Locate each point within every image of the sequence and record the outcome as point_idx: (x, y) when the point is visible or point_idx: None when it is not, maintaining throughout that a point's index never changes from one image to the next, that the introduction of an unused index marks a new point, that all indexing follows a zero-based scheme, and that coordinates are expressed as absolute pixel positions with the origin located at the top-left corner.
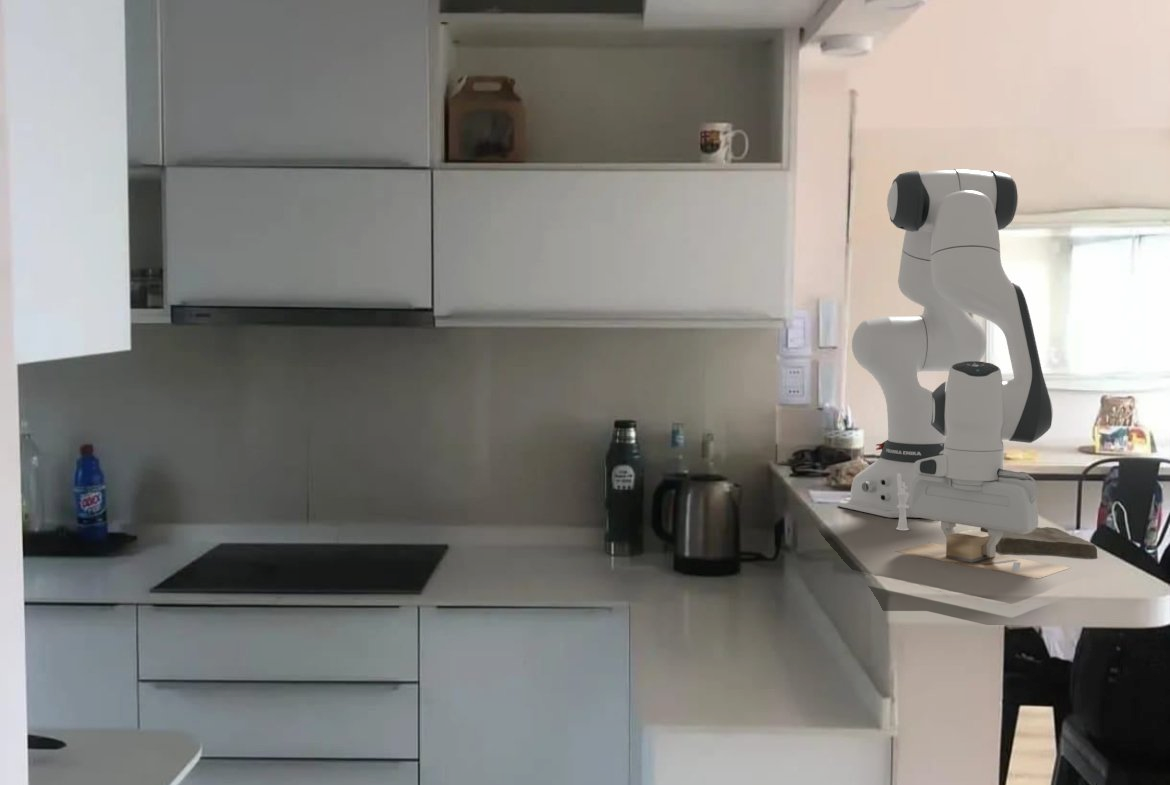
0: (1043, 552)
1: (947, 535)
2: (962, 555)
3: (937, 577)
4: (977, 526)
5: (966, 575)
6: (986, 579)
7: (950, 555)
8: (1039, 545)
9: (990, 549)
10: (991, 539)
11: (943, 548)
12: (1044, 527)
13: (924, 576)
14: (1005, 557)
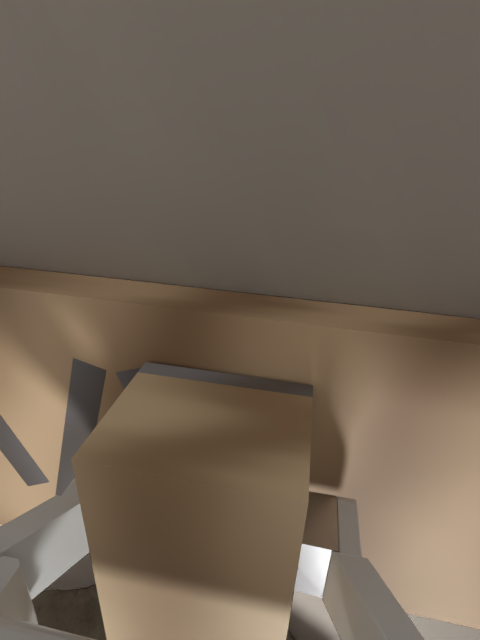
0: (78, 633)
1: (362, 582)
2: (195, 389)
3: (245, 101)
4: (41, 628)
5: (158, 274)
6: (51, 262)
7: (282, 393)
8: None
9: (72, 485)
10: (17, 533)
11: (425, 568)
12: None
13: (324, 55)
14: None
